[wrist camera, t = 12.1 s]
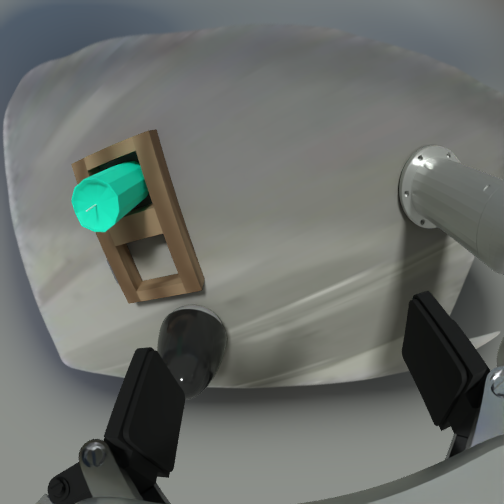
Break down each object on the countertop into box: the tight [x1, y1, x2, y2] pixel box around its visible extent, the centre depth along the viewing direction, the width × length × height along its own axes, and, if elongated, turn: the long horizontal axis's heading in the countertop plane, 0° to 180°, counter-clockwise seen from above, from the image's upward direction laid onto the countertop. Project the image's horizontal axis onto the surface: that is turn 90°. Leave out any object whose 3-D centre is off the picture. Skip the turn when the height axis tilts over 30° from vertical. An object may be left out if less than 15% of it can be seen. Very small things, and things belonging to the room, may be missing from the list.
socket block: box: [71, 130, 205, 303], centre depth 36 cm, size 12×22×3 cm, turn 13°
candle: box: [71, 161, 149, 232], centre depth 29 cm, size 6×6×12 cm
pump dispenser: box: [157, 305, 227, 400], centre depth 38 cm, size 10×10×15 cm
